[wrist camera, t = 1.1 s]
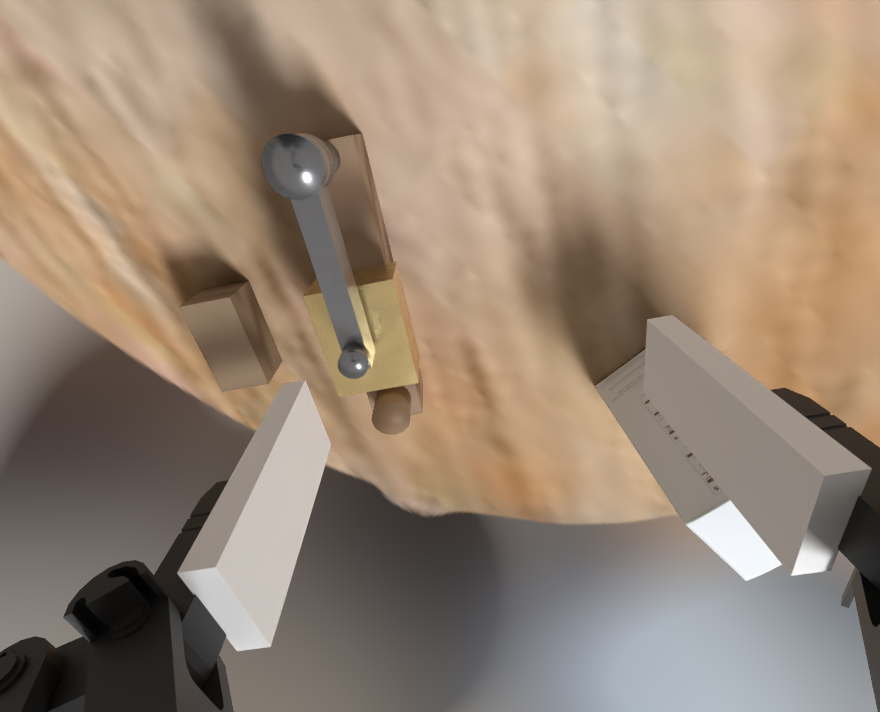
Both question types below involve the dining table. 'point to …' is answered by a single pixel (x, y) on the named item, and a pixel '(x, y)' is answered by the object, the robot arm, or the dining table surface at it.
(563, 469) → the dining table surface
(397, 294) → the gold metallic block
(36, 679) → the robot arm
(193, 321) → the block
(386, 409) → the body
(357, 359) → the lever
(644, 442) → the supplement box
